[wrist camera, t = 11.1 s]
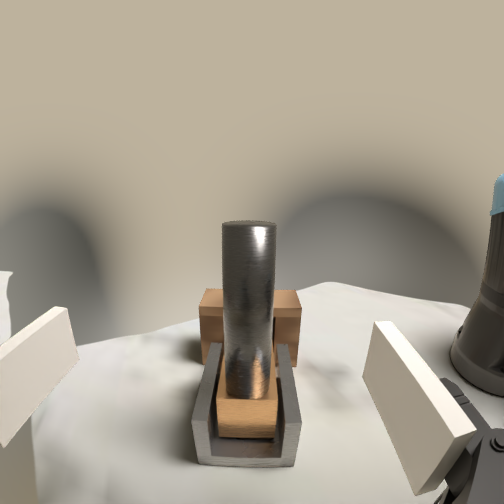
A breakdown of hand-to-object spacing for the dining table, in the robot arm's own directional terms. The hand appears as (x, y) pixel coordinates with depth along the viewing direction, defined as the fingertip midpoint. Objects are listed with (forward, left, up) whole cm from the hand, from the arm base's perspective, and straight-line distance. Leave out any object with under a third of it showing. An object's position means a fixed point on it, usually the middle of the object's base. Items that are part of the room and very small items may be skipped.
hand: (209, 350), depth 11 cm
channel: (-1, -8, -12) cm, 15 cm away
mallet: (-1, -13, -11) cm, 17 cm away
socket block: (-1, -19, -12) cm, 23 cm away
